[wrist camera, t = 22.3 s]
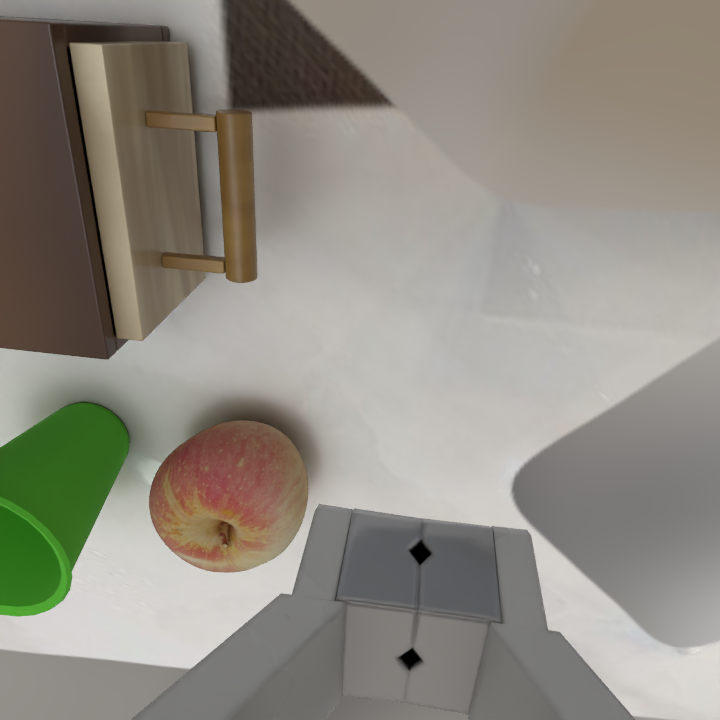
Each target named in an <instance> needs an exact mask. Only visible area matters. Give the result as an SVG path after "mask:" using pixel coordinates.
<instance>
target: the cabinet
mask: <svg viewBox="0 0 720 720" xmlns="http://www.w3.org/2000/svg"><path fill="white" fill-rule="evenodd" d="M127 41H169V32H168V27H167V26H158V25H141V24H124V23H107V22H90V21H73V20H56V19H39V18H22V17H5V16H0V348H7V349H16V350H25V351H34V352H43V353H52V354H62V355H71V356H80V357H89V358H98V359H109V358H110V357H111V356H112V355H113V354H114V353H116V351H117V350H119V349H120V348H121V347H122V346H123V345H124V344H125V343H126V342H127V341H128V340H129V339H120V338H117V335H116V329H115V323H114V317H113V311H112V304H111V300H110V301H109V302H108V297H107V291H106V285H105V279H104V273H103V267H102V260H101V254H100V248H99V242H98V236H97V230H96V224H95V218H94V212H93V206H92V200H91V194H90V188H89V182H88V176H87V170H86V164H85V158H84V152H83V146H82V139H81V133H80V127H79V121H78V115H77V109H76V103H75V97H74V91H73V85H72V79H71V73H70V67H69V61H68V55H67V52H70V47H69V43H70V42H127Z"/></svg>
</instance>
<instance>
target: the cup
mask: <svg viewBox="0 0 720 720" xmlns="http://www.w3.org/2000/svg"><path fill="white" fill-rule="evenodd" d="M128 449H129V436H128V433H127V430H126V428H125V426H124V425H123V423H122V422H121V420H120V419H119V418H118V417H117V416H116V415H115V414H113V413H112V412H110V411H109V410H108V409H106V408H104V407H101V406H99V405H96V404H92V403H76V404H72V405H67V406H65V407H63V408H61V409H60V410H58V411H57V412H55V413H53V414H52V415H50V416H49V417H47V418H46V419H44V420H43V421H41V422H39V423H38V424H36V425H35V426H33V427H32V428H30V429H29V430H27V431H25V432H24V433H22V434H21V435H19V436H18V437H16V438H14V439H13V440H11V441H10V442H8V443H7V444H5V445H4V446H2V447H0V615H10V616H29V615H36V614H39V613H42V612H45V611H48V610H50V609H52V608H53V607H55V606H56V605H57V604H59V603H60V602H61V601H63V600H64V598H65V597H66V595H67V593H68V592H69V590H70V587H71V580H72V573H71V572H72V570H73V567H74V565H75V563H76V561H77V559H78V557H79V555H80V553H81V551H82V549H83V546H84V544H85V542H86V540H87V538H88V536H89V534H90V532H91V530H92V528H93V526H94V523H95V521H96V519H97V517H98V515H99V513H100V511H101V509H102V507H103V505H104V502H105V500H106V498H107V496H108V494H109V492H110V490H111V488H112V486H113V484H114V482H115V479H116V477H117V475H118V473H119V471H120V469H121V467H122V465H123V463H124V461H125V458H126V456H127V454H128Z"/></svg>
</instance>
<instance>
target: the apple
mask: <svg viewBox="0 0 720 720" xmlns="http://www.w3.org/2000/svg"><path fill="white" fill-rule="evenodd" d="M307 500H308V477H307V472H306V468H305V465H304V462H303V460H302V457H301V455H300V454H299V452H298V450H297V448H296V447H295V446H294V444H293V443H292V441H291V440H290V439H289V438H288V437H287V436H286V435H285V434H283V433H282V432H281V431H279V430H277V429H276V428H274V427H272V426H270V425H267V424H264V423H261V422H257V421H248V420H238V421H229V422H223V423H220V424H216V425H214V426H211V427H209V428H207V429H205V430H203V431H201V432H200V433H198V434H196V435H195V436H193V437H192V438H190V439H189V440H187V441H186V442H184V443H183V444H181V445H180V446H179V447H178V448H176V449H175V450H174V451H173V452H172V453H171V454H170V455H169V456H168V457H167V458H166V459H165V460H164V462H163V463H162V464H161V466H160V467H159V469H158V471H157V473H156V475H155V477H154V479H153V482H152V486H151V490H150V496H149V508H150V514H151V519H152V522H153V525H154V527H155V529H156V531H157V533H158V534H159V536H160V537H161V539H162V540H163V541H164V543H165V544H166V545H167V546H168V547H169V548H170V550H171V551H173V552H174V553H175V554H176V555H178V556H179V557H180V558H181V559H183V560H184V561H186V562H188V563H190V564H192V565H193V566H195V567H198V568H200V569H204V570H207V571H213V572H240V571H245V570H249V569H252V568H254V567H257V566H259V565H261V564H264V563H266V562H268V561H270V560H272V559H274V558H275V557H277V556H278V555H279V554H281V553H282V552H283V551H284V550H285V549H286V548H287V547H288V546H289V544H290V543H291V542H292V540H293V539H294V537H295V536H296V534H297V532H298V530H299V528H300V526H301V524H302V521H303V518H304V515H305V510H306V506H307Z"/></svg>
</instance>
